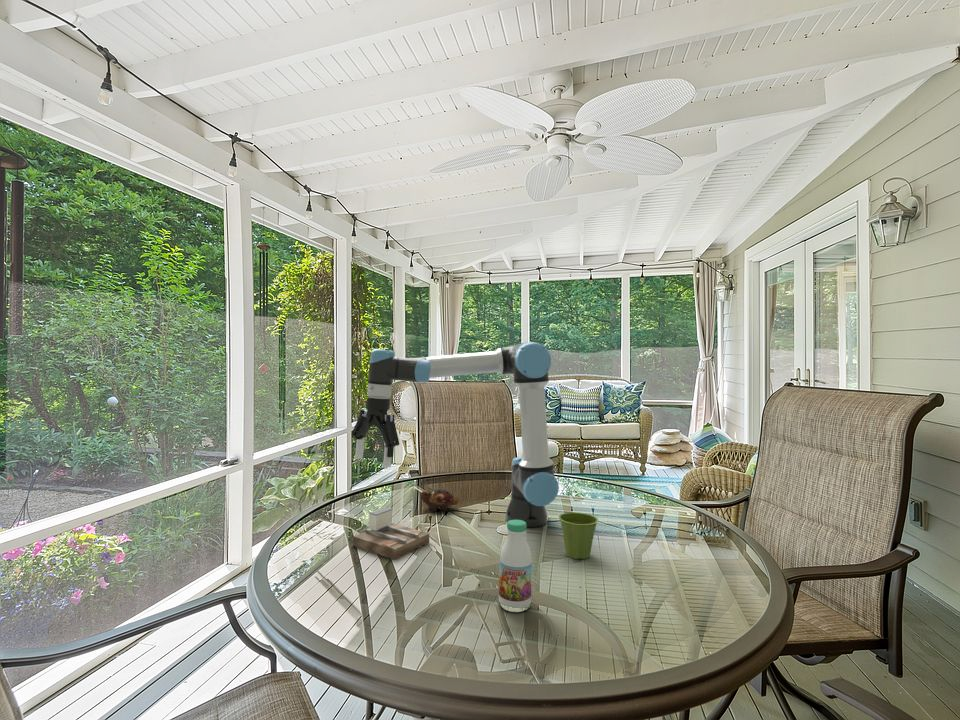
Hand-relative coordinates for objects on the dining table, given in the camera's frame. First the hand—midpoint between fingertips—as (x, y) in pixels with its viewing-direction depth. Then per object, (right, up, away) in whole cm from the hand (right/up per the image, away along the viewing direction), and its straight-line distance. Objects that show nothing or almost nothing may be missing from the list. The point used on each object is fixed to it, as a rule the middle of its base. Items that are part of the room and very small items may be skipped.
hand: (372, 463), depth 158 cm
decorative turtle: (+19, -25, +31) cm, 44 cm away
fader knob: (+3, -21, -2) cm, 21 cm away
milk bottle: (+43, -26, -41) cm, 65 cm away
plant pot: (+64, -26, -9) cm, 70 cm away
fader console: (+7, -24, -5) cm, 26 cm away
